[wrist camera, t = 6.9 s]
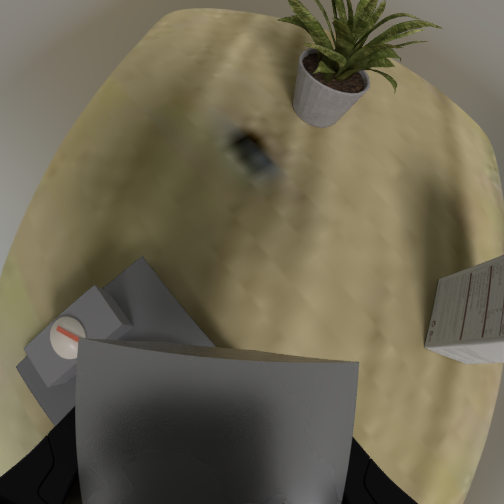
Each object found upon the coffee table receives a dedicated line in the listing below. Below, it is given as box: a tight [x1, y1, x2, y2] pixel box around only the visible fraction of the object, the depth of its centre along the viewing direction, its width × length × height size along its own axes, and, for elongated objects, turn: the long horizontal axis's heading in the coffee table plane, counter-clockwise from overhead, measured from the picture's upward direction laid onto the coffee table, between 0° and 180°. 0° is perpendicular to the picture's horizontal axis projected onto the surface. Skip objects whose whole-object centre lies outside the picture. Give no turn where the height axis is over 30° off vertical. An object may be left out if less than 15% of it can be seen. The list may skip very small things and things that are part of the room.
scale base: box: [16, 256, 216, 426], centre depth 17 cm, size 14×16×5 cm
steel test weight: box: [75, 338, 359, 504], centre depth 9 cm, size 4×4×11 cm
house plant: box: [277, 0, 441, 128], centre depth 22 cm, size 14×14×16 cm
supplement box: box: [425, 255, 504, 364], centre depth 19 cm, size 7×7×13 cm
